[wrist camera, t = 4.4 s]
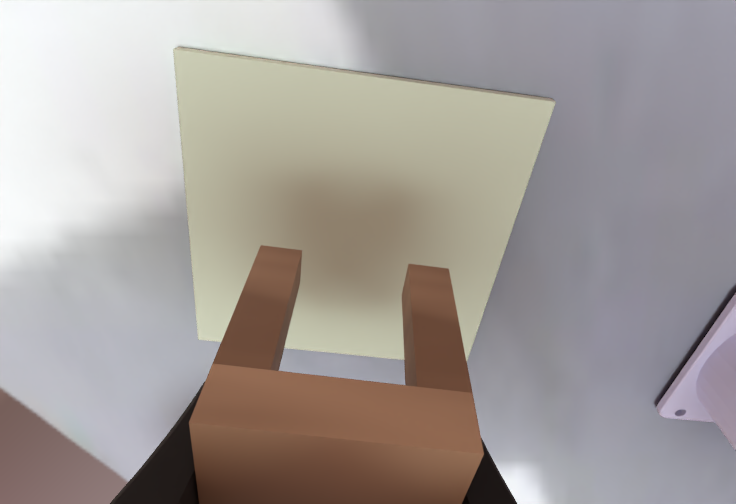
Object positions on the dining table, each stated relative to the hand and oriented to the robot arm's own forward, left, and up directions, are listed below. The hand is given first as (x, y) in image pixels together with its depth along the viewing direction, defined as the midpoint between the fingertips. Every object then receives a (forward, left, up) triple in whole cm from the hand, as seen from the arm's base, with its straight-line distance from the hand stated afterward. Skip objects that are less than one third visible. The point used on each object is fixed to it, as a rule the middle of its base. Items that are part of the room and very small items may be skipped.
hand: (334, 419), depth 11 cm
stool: (0, 0, -2) cm, 2 cm away
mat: (0, 0, -8) cm, 8 cm away
